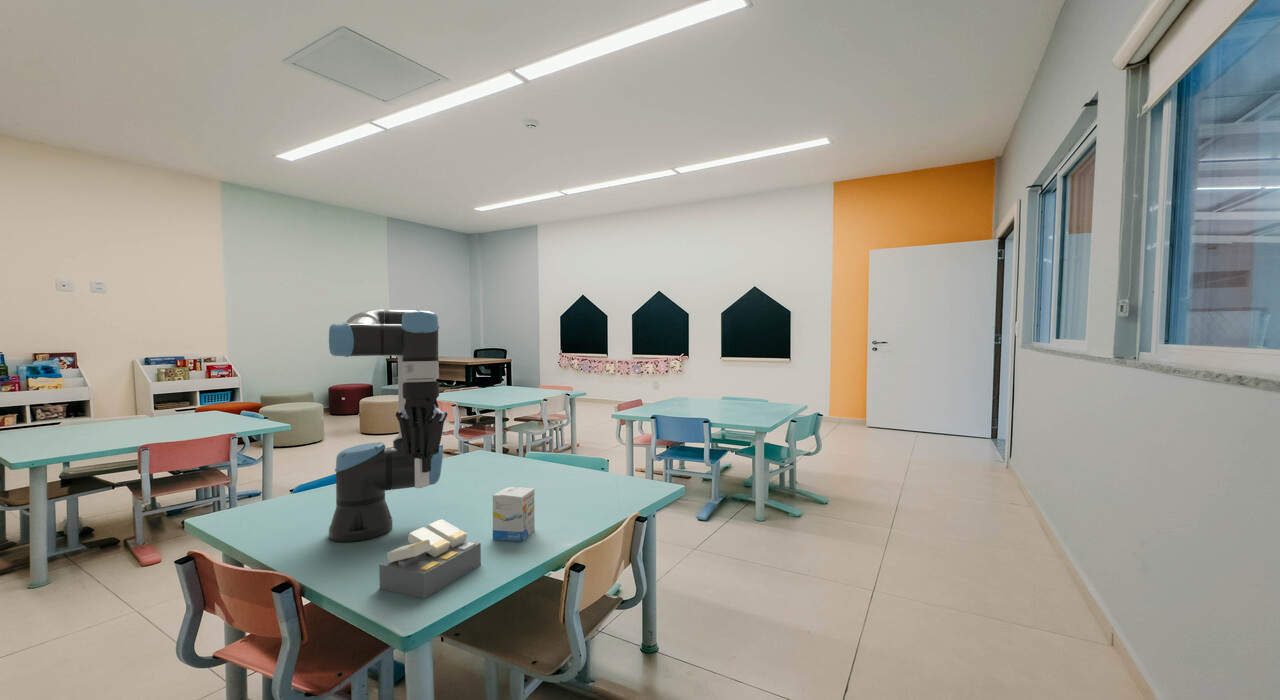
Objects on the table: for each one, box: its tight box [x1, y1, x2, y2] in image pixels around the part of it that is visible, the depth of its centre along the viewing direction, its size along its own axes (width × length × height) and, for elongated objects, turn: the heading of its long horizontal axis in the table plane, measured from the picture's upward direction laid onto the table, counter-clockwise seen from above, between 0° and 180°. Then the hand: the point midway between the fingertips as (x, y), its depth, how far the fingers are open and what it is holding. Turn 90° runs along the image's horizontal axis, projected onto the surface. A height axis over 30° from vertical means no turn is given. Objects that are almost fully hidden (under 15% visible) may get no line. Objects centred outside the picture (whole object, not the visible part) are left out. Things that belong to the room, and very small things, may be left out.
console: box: [378, 539, 482, 600], centre depth 111 cm, size 12×17×6 cm
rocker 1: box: [386, 540, 431, 562], centre depth 107 cm, size 8×4×2 cm, turn 69°
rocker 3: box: [427, 518, 468, 547], centre depth 117 cm, size 8×4×2 cm, turn 68°
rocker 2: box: [407, 526, 450, 557], centre depth 112 cm, size 8×4×2 cm, turn 68°
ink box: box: [492, 486, 536, 542], centre depth 135 cm, size 9×8×12 cm
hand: (422, 486), depth 113 cm, fingers closed
